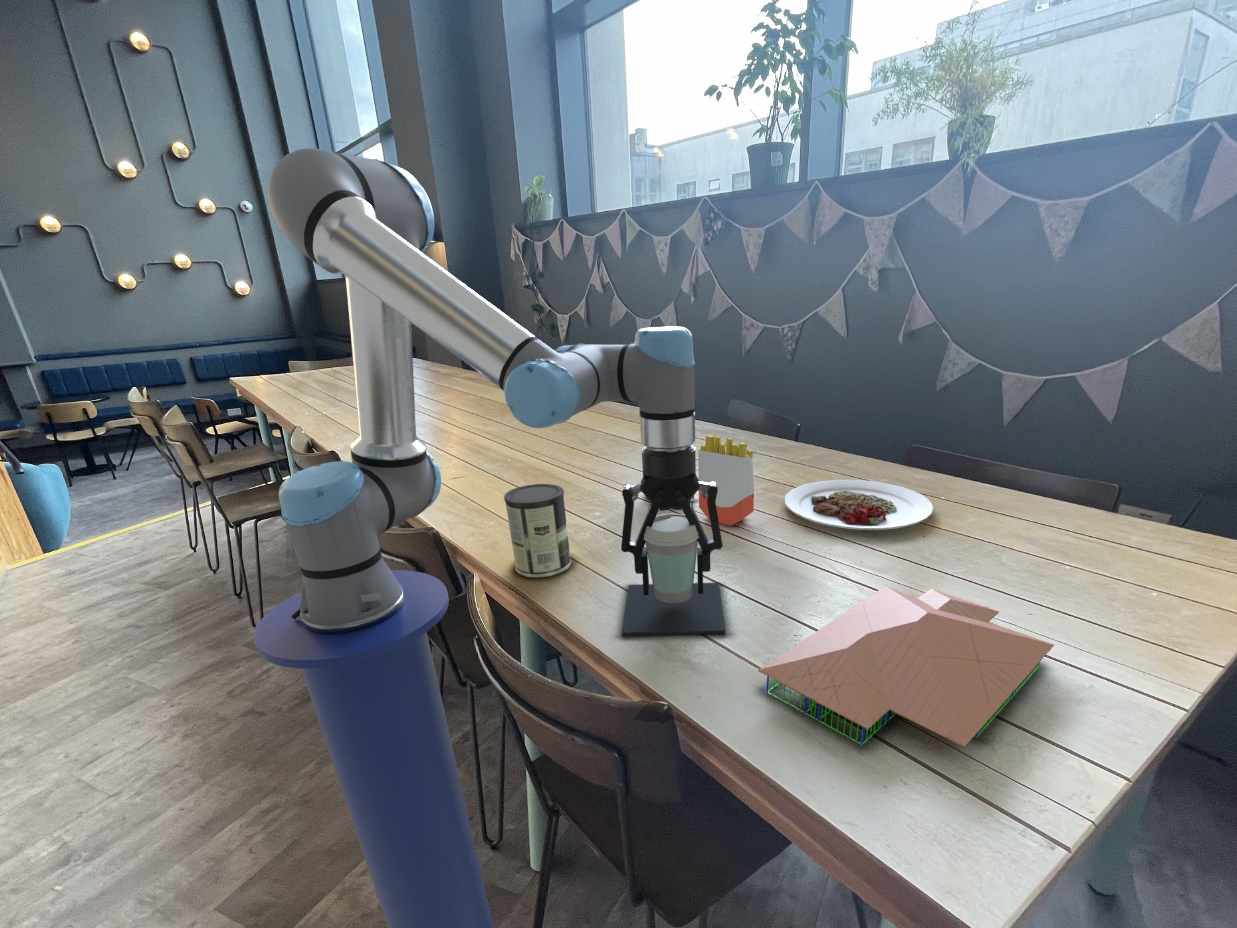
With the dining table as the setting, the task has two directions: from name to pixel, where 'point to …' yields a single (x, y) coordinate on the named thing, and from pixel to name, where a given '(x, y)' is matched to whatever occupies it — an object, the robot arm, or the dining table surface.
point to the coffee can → (538, 529)
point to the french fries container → (727, 478)
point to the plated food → (858, 504)
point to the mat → (673, 613)
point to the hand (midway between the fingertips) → (673, 590)
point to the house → (910, 664)
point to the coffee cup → (672, 557)
